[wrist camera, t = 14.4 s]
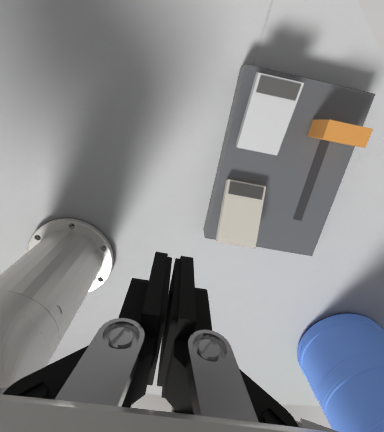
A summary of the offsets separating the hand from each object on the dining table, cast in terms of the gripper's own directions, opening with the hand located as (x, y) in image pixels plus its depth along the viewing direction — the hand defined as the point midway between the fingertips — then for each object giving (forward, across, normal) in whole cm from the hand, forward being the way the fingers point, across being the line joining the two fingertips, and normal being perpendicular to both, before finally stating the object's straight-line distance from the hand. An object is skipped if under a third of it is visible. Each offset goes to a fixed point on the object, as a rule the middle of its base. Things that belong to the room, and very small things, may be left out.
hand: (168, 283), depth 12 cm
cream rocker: (+22, -8, +3) cm, 24 cm away
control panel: (+27, -13, -3) cm, 30 cm away
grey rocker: (+22, -8, -9) cm, 25 cm away
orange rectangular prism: (+24, -17, -9) cm, 31 cm away
